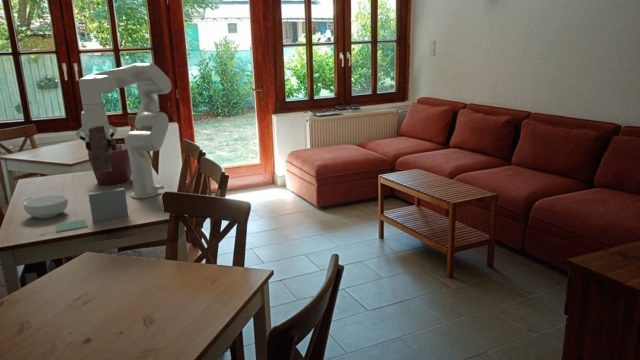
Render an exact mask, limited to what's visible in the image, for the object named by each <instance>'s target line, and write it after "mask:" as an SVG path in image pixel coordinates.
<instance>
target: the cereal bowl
mask: <svg viewBox="0 0 640 360" xmlns="http://www.w3.org/2000/svg"><path fill="white" fill-rule="evenodd" d="M68 203H69V202H68V197H67V196H66V195H57V194H56V195H55V194H54V195H53V194H52V195H45V196H39V197H35V198H31V199H29V200H26V201H24V203H23V208H24V211H25V212H26V214H27V215H29V216H31V217H36V218H38V219H49V218H50V219H51V218H54V217H56V216H58V215H59V214H60V213H62V212H64V211H65V210H66V209H67V208H68Z"/></svg>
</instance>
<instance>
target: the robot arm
mask: <svg viewBox="0 0 640 360" xmlns="http://www.w3.org/2000/svg"><path fill="white" fill-rule="evenodd" d="M134 84H136V89H137V92H138V93H139V94H138V95H139V98H140V105H139V108H138V111H137V114H136V116H135V120H134V127H135V129H136V130H131V131H129V132H127V133H126V135H125V136H124V145H126V148H127V151H128V154H129V160H130V167H131V181H132V188H133V192H131V193H130V197H131V198H132V199H148V198H153V197H155V196H157V195H158V194H159V192H158V190H164V189H165V185H163V184H162V185H161V184H157V185H156V184H155V183H154V177H153V169H152V168H153V167H152V161H151V156H150V155H149V153H148V152H158V151H159V150H161V149H162V146H163V144H164V142H165V138H166V135H167V133H168V129H169V117H168V115H167V114H166V113H165V112H162V111H159V107H160V105H159V102H158V101H157V98H155V96H154V95H165V94H166V95H167V94H168V93H170V91H171V90H172V82H171V80H170V77H168V76H167V74H165V72H163V70H161V68H159V67H158V66H157V65H156V64H154V63H151V62H147V63H146V62H142V63H141V62H140V63H139V62H138V63H137V62H136V63H135V62H134V63H132V64H128V65H125V66H121V67H118V68H113V69H108V70H104V71H103V70H102V71H98V72H94V73H91V74H87V75H86V76H84V77H81V78H79V80H78V86H79V91H80V97H81V104H82V111H81V116H80V117H81V118H80V119H81V127H80V128H79V129H78V130H77V131H76V132H75V136H77V138H79V139H80V140H82V141H83V142H84V144H85V149H86V150H87V152H88V151H89V152H90V151H91V150H90V144H89V140H88V139H89V129H92V128H96V127H102V126H104V130H105V134H106V136H107V142H108V148H109V149H111V148H110V147H112V144H111V139H112V137H113V138H114V136H115V135H116V133H117V132H118V128H116V127H115V126H113V125H111V124H109V119H108V116H107V112H106V110H105V109H104V108H107V104H106V103H103V100H102V94H104V95H105V94H112V93H114V92H115V91H116V90H117V89H120V88H126V87H129V86H131V85H134ZM111 130H112V131H111ZM110 131H111V133H110ZM81 133H83V135H84V136H85V137H84V136H83V135H81ZM109 133H110V134H109Z"/></svg>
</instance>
